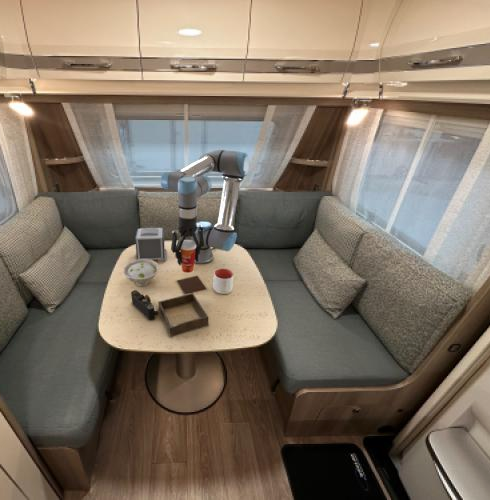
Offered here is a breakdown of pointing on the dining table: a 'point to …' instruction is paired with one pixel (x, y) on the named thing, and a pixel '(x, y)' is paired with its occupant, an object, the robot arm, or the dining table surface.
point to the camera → (143, 305)
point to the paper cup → (188, 255)
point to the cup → (223, 280)
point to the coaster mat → (191, 284)
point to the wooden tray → (186, 325)
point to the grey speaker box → (150, 244)
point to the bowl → (141, 271)
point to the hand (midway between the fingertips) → (187, 261)
